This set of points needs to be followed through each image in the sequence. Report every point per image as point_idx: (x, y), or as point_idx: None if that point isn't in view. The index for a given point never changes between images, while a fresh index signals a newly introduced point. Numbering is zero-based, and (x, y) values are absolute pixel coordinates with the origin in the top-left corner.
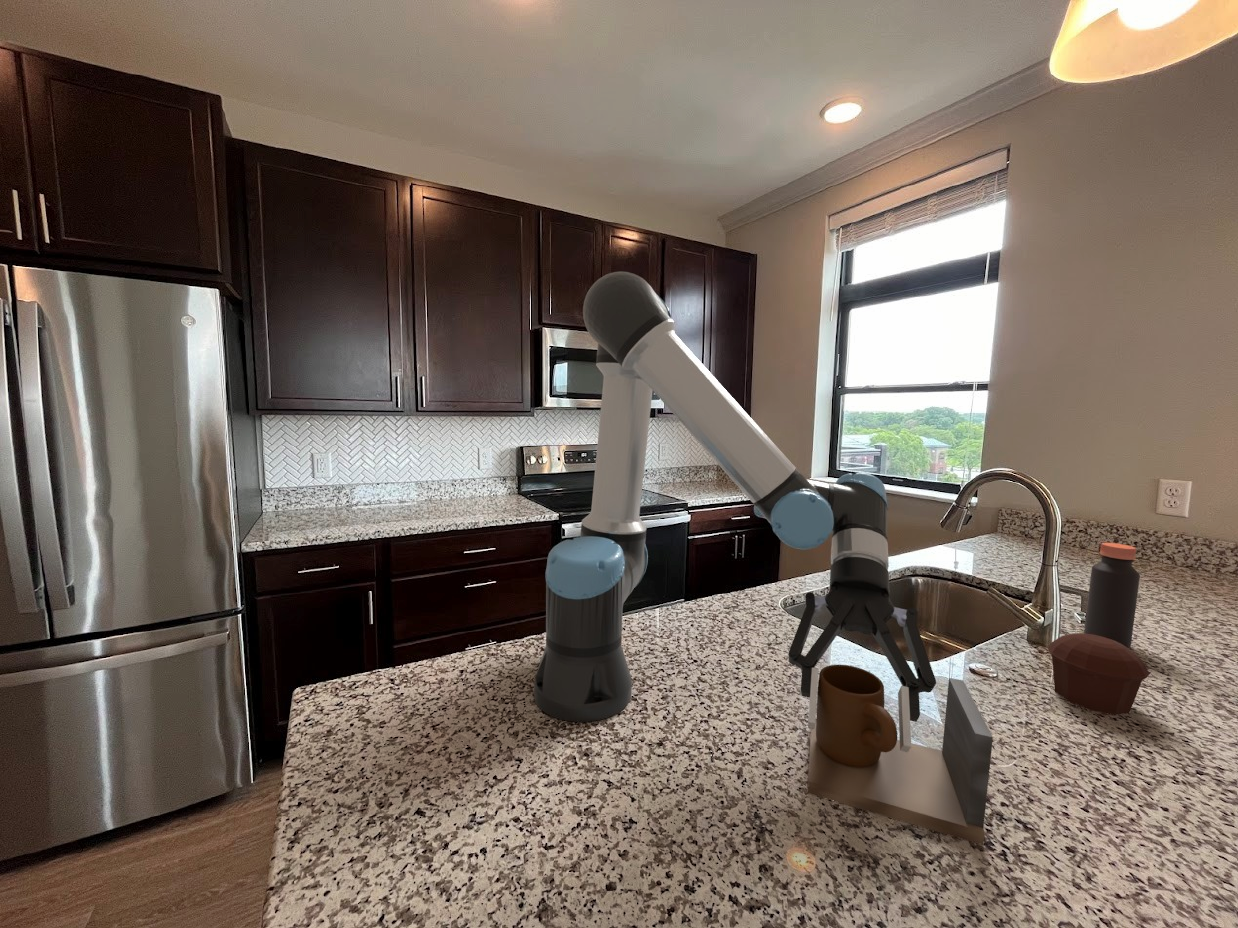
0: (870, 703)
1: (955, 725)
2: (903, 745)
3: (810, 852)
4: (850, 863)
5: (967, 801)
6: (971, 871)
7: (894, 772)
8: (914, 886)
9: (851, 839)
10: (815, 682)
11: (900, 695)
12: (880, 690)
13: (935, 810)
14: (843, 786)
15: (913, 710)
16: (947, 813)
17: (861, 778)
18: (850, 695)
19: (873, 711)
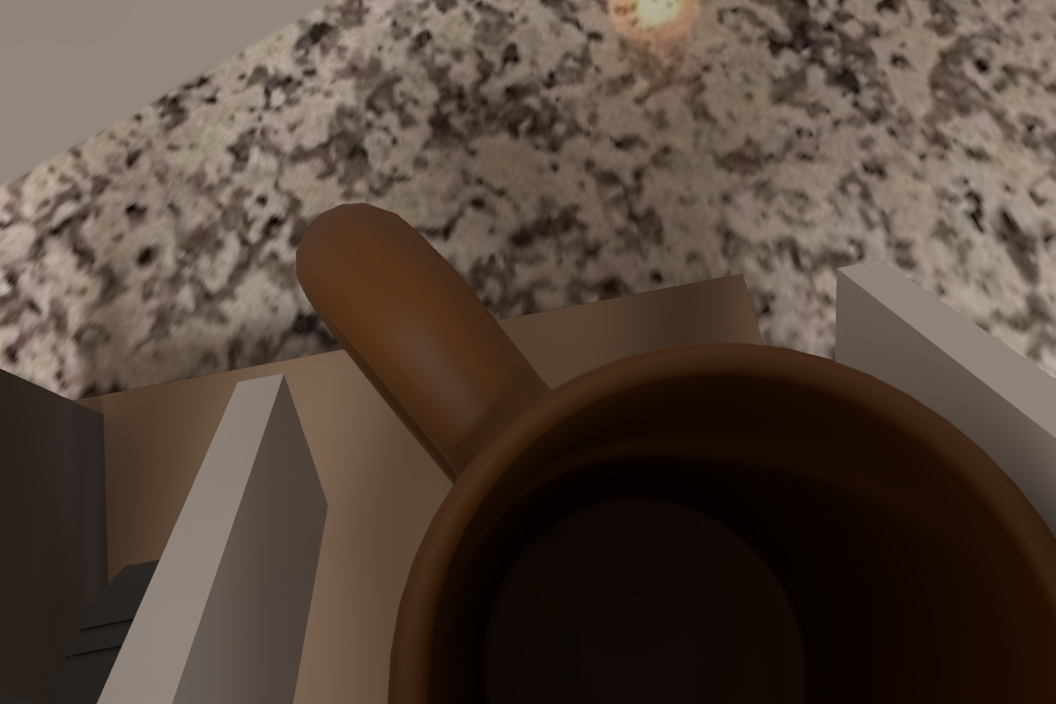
0: (500, 421)
1: None
2: (287, 387)
3: (634, 41)
4: (512, 72)
5: (47, 401)
6: (145, 263)
7: (388, 598)
8: (326, 101)
9: (525, 167)
10: (1044, 411)
11: (224, 692)
12: (417, 596)
13: (218, 421)
14: (597, 335)
15: (141, 599)
16: (170, 431)
17: None
18: (677, 348)
19: (460, 280)
